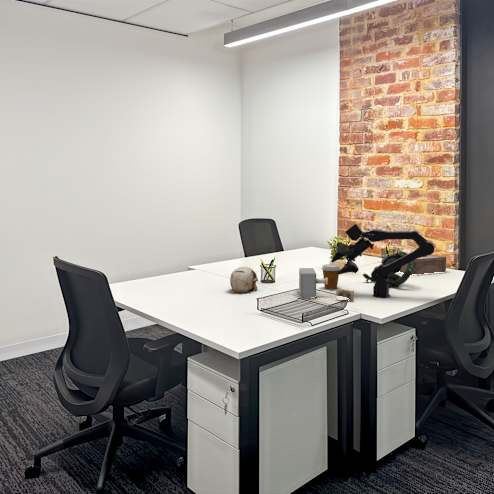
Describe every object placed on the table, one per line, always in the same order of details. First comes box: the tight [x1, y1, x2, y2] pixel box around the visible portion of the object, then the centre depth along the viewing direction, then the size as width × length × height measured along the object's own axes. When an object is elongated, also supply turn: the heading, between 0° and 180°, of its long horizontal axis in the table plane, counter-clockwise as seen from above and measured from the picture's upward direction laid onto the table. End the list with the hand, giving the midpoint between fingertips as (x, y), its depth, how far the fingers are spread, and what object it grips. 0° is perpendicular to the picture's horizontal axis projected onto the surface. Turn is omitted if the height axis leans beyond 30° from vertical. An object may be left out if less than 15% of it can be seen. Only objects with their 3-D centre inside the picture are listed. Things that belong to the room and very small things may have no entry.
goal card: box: [335, 288, 355, 303], centre depth 244 cm, size 8×1×5 cm, turn 63°
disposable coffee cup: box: [321, 263, 341, 290], centre depth 273 cm, size 10×10×12 cm
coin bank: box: [229, 266, 259, 294], centre depth 269 cm, size 16×17×13 cm
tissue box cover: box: [400, 253, 447, 275], centre depth 318 cm, size 26×14×10 cm, turn 111°
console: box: [298, 267, 317, 299], centre depth 258 cm, size 8×16×12 cm, turn 178°
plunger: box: [316, 278, 328, 285], centre depth 254 cm, size 6×3×3 cm, turn 88°
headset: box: [362, 251, 414, 288], centre depth 279 cm, size 18×14×29 cm
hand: (334, 267), depth 260 cm, fingers open, 9 cm apart
